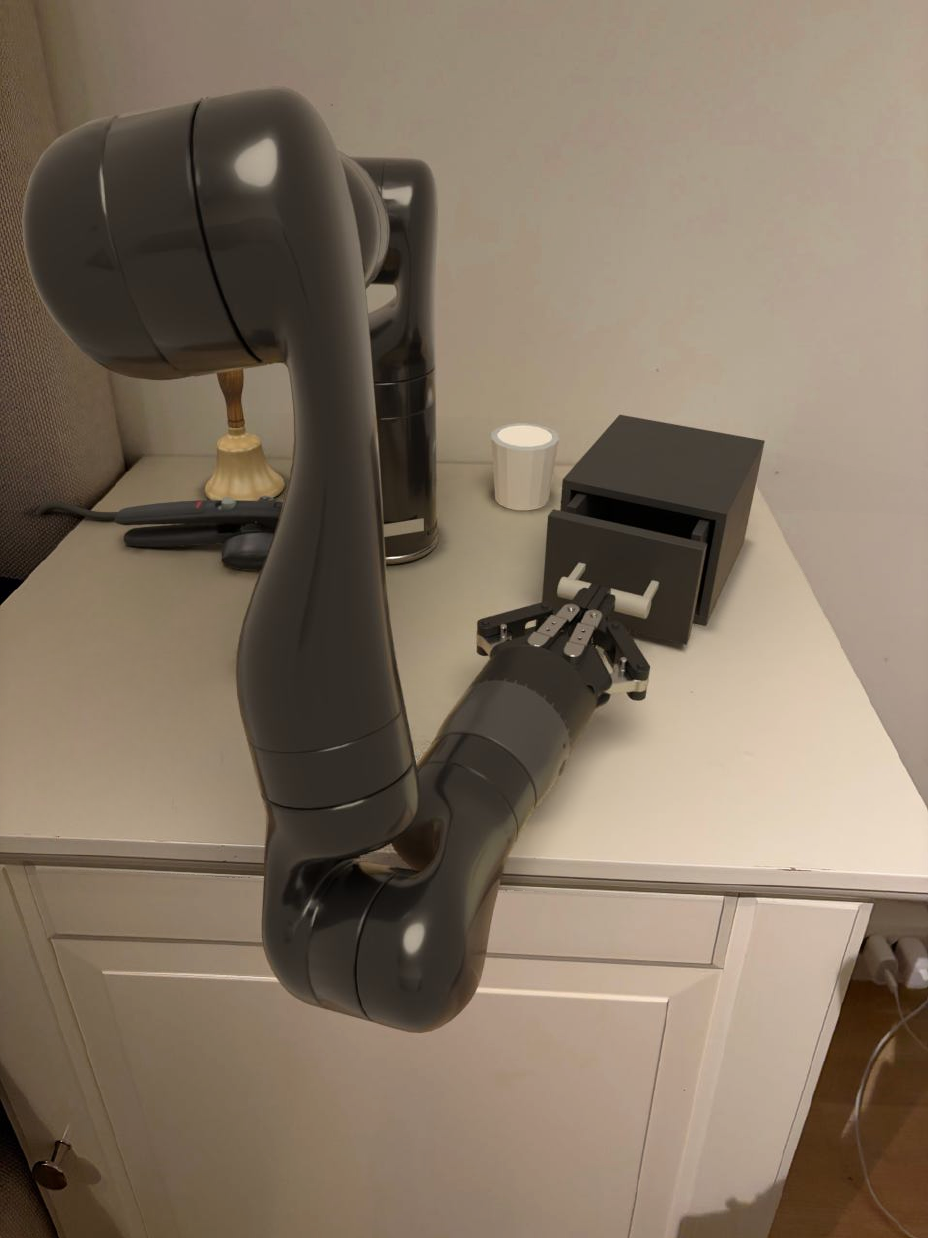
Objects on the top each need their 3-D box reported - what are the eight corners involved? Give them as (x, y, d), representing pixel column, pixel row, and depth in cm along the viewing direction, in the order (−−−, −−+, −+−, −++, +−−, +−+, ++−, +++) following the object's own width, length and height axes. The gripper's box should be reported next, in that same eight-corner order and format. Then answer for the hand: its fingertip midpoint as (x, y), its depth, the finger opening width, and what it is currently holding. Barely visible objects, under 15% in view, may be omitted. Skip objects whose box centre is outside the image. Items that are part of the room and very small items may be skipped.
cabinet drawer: (672, 676, 71) (689, 578, 66) (521, 634, 75) (526, 539, 70) (725, 561, 85) (743, 473, 80) (596, 532, 89) (605, 446, 84)
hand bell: (206, 474, 101) (182, 326, 92) (284, 469, 102) (268, 322, 93) (202, 509, 94) (176, 354, 85) (286, 503, 95) (268, 349, 86)
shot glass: (550, 516, 93) (554, 452, 90) (483, 509, 95) (484, 445, 91) (558, 486, 99) (563, 424, 95) (494, 480, 100) (497, 419, 96)
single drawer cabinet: (706, 626, 78) (727, 513, 72) (554, 587, 83) (562, 479, 77) (743, 542, 90) (764, 440, 84) (608, 513, 94) (619, 414, 88)
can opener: (313, 541, 89) (308, 488, 86) (290, 579, 83) (284, 523, 80) (140, 524, 91) (128, 472, 88) (105, 560, 86) (92, 505, 82)
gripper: (621, 718, 52) (695, 573, 65) (413, 656, 57) (521, 532, 70) (608, 812, 57) (680, 658, 70) (415, 747, 61) (517, 614, 74)
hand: (600, 595), depth 70 cm, fingers closed
